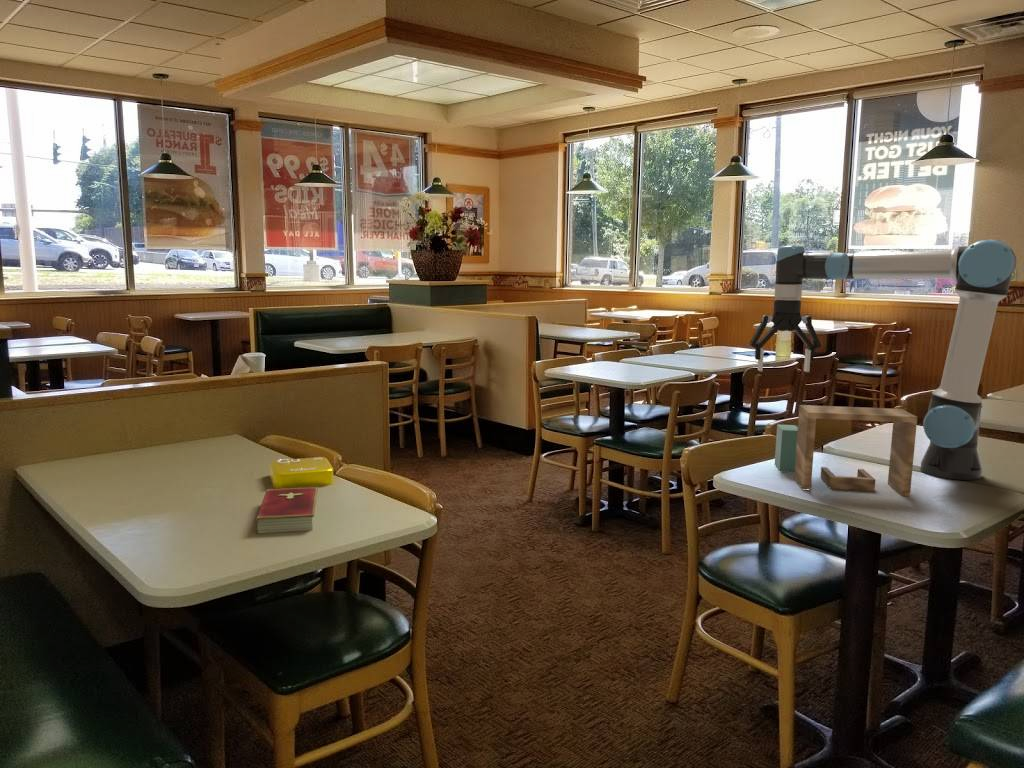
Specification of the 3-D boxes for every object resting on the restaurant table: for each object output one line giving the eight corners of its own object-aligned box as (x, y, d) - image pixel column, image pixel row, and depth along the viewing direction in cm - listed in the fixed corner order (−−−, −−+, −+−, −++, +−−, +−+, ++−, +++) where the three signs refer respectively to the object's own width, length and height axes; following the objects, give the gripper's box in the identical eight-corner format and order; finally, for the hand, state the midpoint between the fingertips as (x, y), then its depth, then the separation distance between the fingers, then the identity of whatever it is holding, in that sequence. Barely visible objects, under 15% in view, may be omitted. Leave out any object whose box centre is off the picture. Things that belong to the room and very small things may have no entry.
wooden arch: (892, 481, 209) (898, 407, 206) (909, 496, 195) (917, 416, 192) (792, 476, 213) (797, 403, 210) (802, 490, 199) (808, 412, 196)
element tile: (274, 491, 194) (273, 472, 193) (269, 476, 207) (269, 458, 207) (334, 485, 199) (334, 467, 198) (326, 471, 213) (325, 454, 212)
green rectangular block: (792, 465, 225) (795, 425, 223) (797, 472, 217) (801, 430, 215) (774, 464, 226) (777, 424, 224) (779, 471, 218) (782, 430, 216)
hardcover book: (255, 535, 162) (254, 516, 161) (265, 505, 182) (265, 488, 181) (314, 532, 164) (313, 513, 164) (318, 503, 184) (317, 486, 184)
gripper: (826, 299, 229) (821, 370, 232) (741, 298, 230) (737, 368, 233) (835, 300, 221) (830, 373, 224) (747, 299, 223) (743, 372, 226)
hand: (783, 371), depth 229 cm, fingers open, 13 cm apart
